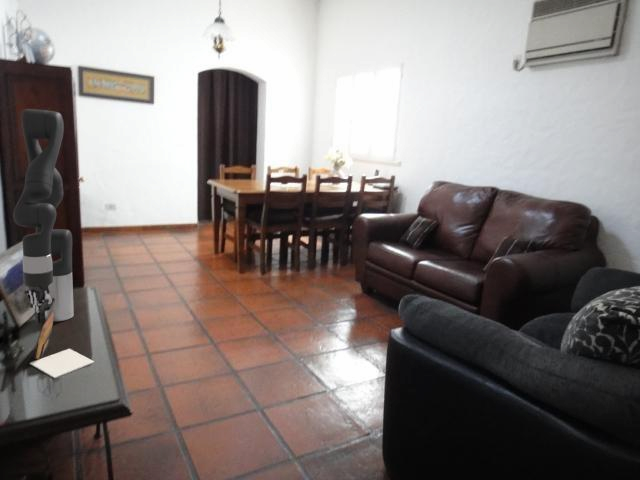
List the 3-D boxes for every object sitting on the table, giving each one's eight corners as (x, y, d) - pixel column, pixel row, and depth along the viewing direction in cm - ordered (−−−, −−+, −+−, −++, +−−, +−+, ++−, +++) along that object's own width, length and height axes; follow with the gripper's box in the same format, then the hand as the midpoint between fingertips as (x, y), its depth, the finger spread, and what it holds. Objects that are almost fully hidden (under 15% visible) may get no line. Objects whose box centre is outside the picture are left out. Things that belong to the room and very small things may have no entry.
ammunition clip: (40, 360, 134) (48, 323, 133) (33, 359, 134) (41, 322, 132) (48, 344, 144) (56, 310, 143) (42, 343, 144) (50, 309, 142)
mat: (29, 364, 132) (29, 362, 132) (69, 349, 142) (69, 348, 142) (54, 378, 126) (54, 377, 125) (94, 362, 136) (94, 361, 136)
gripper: (63, 271, 133) (65, 324, 137) (39, 262, 139) (41, 313, 143) (36, 276, 127) (39, 332, 130) (12, 266, 133) (16, 320, 137)
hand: (40, 322), depth 137 cm, fingers closed
